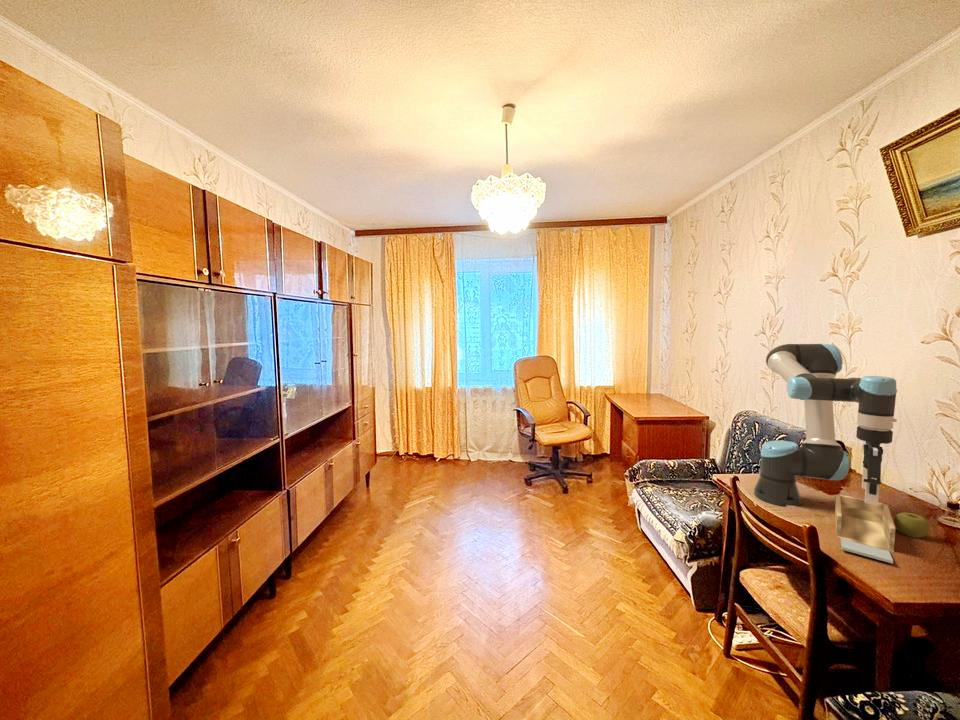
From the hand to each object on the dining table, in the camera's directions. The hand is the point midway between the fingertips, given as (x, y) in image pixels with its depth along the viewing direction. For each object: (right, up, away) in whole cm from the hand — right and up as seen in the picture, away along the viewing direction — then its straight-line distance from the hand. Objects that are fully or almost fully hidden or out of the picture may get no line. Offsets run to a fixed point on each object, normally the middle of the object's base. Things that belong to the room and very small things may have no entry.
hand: (869, 496), depth 116 cm
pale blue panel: (+3, -17, +5) cm, 18 cm away
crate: (+11, -17, +13) cm, 24 cm away
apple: (+25, -17, +11) cm, 33 cm away
